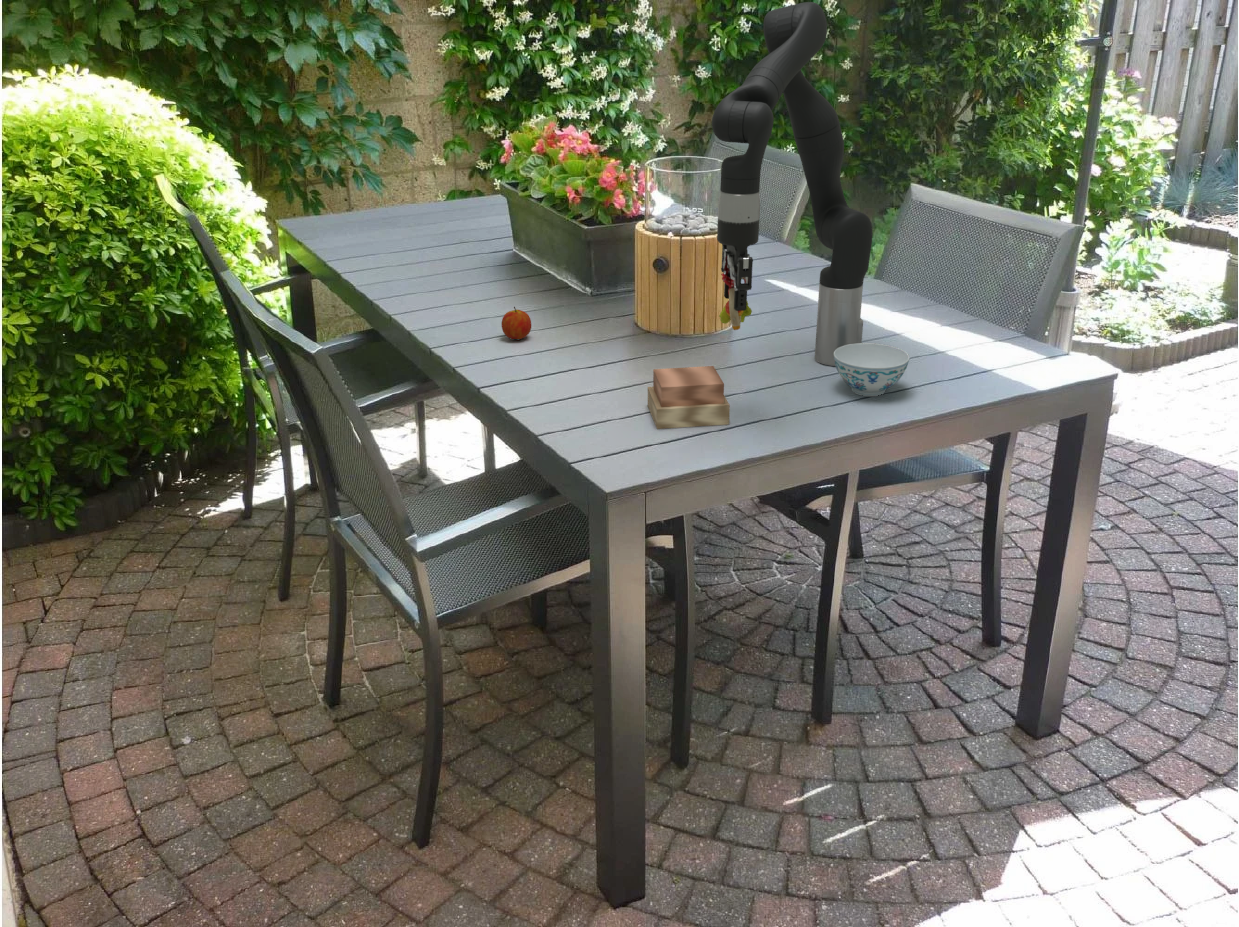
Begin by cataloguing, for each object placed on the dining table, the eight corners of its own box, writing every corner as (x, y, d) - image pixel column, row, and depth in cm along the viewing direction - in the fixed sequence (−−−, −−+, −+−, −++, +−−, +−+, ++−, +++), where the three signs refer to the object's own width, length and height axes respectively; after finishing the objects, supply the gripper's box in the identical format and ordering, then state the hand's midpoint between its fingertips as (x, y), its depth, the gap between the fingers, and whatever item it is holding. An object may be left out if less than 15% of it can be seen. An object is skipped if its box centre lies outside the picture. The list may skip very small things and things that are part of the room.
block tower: (716, 401, 224) (717, 363, 220) (729, 424, 213) (730, 385, 210) (647, 405, 222) (647, 367, 219) (657, 428, 212) (657, 389, 208)
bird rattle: (752, 340, 209) (751, 309, 215) (755, 294, 201) (754, 262, 207) (719, 340, 209) (719, 308, 215) (720, 294, 201) (720, 262, 207)
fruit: (520, 332, 266) (519, 300, 262) (537, 339, 261) (536, 306, 257) (496, 338, 262) (494, 305, 258) (513, 345, 257) (511, 312, 253)
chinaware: (879, 373, 237) (882, 339, 234) (920, 397, 224) (924, 361, 221) (817, 383, 232) (820, 348, 229) (856, 408, 220) (859, 371, 216)
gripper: (769, 224, 195) (764, 314, 202) (749, 207, 208) (745, 292, 215) (727, 225, 194) (723, 316, 201) (710, 208, 207) (707, 294, 214)
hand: (734, 303), depth 208 cm, fingers closed on bird rattle, 7 cm apart
